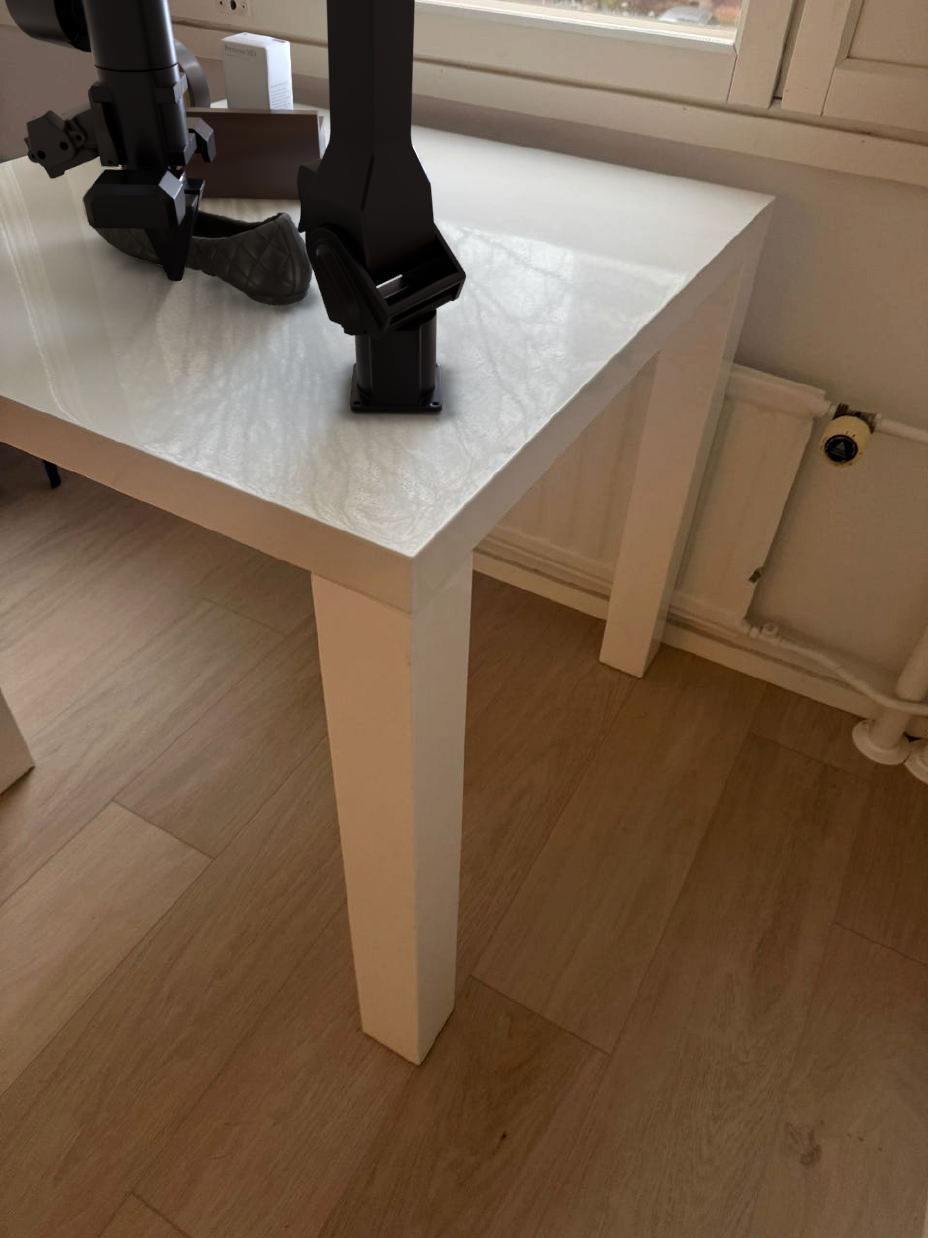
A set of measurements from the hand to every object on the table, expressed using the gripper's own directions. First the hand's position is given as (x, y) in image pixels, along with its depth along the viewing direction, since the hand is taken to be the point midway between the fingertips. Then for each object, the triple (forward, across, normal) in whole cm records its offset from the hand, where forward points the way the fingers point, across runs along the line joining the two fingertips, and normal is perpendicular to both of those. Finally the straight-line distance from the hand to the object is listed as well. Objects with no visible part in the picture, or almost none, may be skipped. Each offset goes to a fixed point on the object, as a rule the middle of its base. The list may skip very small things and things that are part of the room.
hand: (175, 280), depth 76 cm
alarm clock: (+1, -37, -8) cm, 38 cm away
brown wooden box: (+1, -28, +1) cm, 28 cm away
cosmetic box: (+1, -35, +4) cm, 35 cm away
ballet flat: (+2, -7, +1) cm, 8 cm away
